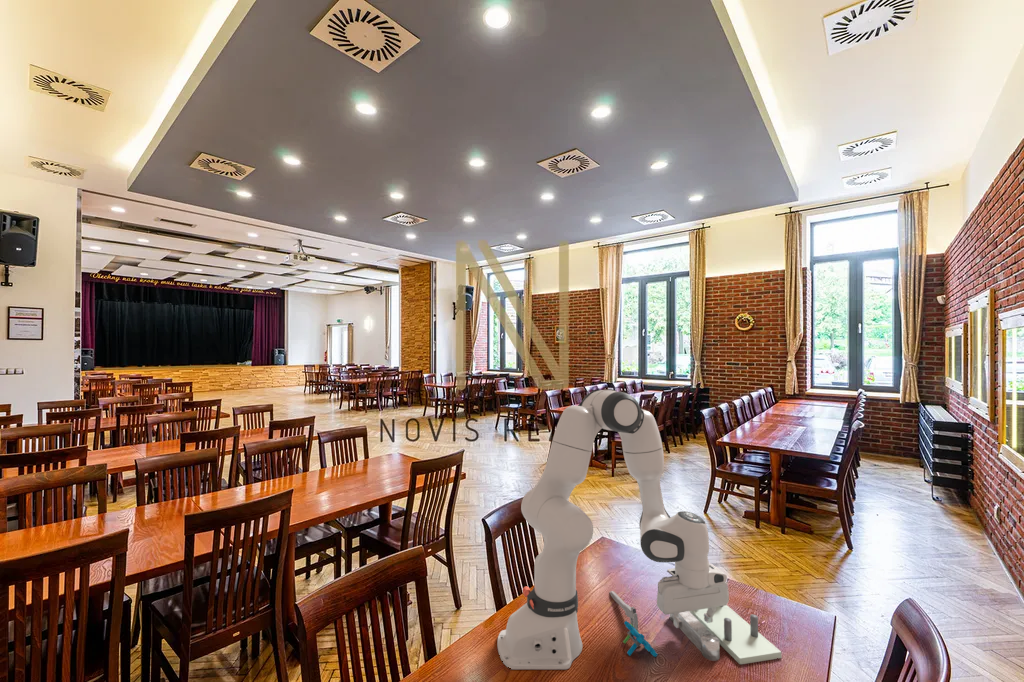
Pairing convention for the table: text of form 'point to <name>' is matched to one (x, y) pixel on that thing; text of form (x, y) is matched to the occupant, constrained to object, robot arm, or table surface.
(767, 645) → the board
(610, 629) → the table surface
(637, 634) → the gear
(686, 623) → the grey dumbbell
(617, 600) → the caliper
